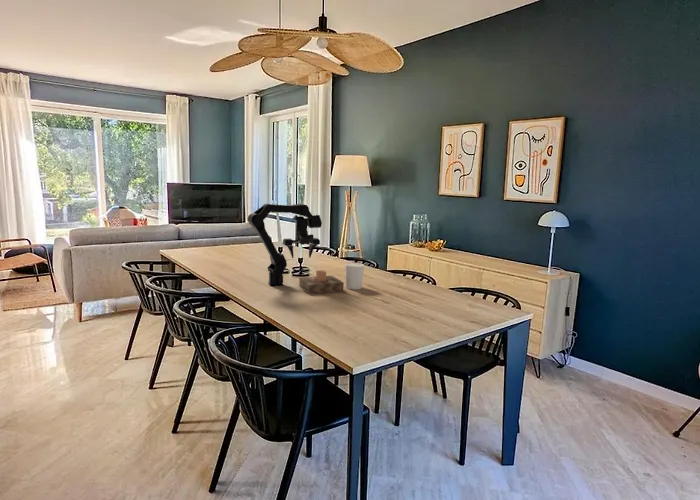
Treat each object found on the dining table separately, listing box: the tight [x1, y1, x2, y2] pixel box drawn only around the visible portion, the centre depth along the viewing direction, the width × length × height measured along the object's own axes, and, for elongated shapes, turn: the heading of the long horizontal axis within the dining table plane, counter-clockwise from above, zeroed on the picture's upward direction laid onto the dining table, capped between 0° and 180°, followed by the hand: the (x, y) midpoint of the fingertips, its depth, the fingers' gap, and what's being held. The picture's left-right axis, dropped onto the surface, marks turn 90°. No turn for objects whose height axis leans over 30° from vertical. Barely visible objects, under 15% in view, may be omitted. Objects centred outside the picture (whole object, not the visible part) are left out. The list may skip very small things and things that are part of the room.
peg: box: [315, 269, 327, 282], centre depth 218 cm, size 4×4×9 cm
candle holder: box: [344, 262, 365, 291], centre depth 223 cm, size 10×10×12 cm
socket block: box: [298, 275, 345, 295], centre depth 219 cm, size 18×16×4 cm
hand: (301, 257), depth 229 cm, fingers open, 9 cm apart
